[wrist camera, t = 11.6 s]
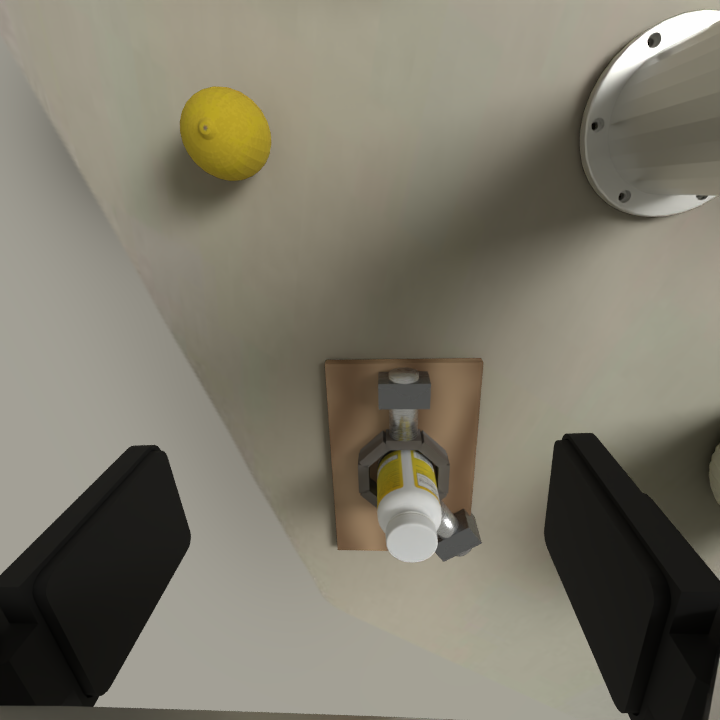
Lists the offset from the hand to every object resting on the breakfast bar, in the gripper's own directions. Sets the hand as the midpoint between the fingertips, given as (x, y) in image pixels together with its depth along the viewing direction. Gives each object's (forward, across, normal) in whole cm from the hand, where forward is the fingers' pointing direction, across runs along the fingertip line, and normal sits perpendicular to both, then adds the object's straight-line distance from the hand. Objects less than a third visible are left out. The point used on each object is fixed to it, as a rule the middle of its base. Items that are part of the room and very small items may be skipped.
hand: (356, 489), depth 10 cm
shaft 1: (+27, -1, +11) cm, 29 cm away
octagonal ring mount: (+27, -1, +19) cm, 33 cm away
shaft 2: (+27, -5, +25) cm, 37 cm away
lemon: (+27, +10, -11) cm, 31 cm away
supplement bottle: (+26, -1, +19) cm, 32 cm away
